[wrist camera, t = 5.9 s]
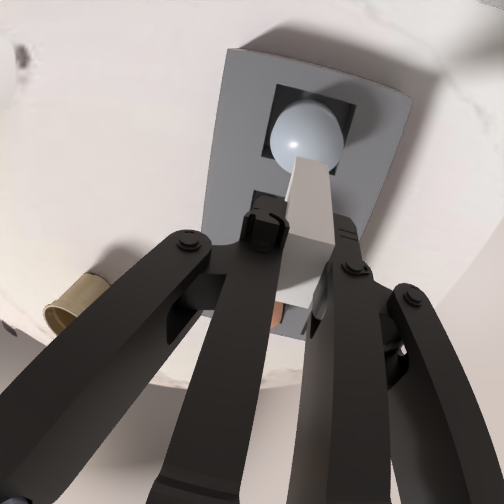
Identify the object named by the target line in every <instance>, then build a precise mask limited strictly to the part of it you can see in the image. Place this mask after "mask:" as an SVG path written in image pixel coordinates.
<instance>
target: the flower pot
mask: <svg viewBox="0 0 504 504" xmlns="http://www.w3.org/2000/svg"><path fill="white" fill-rule="evenodd" d="M109 287H110V285H109V284H108V283H107V282H106V281H105V280H104V279H103V278H101V277H100V276H98V275H91V274H90V273H86V274H84V275H82V276H81V277H80V278H79V279H78V280H77V281H76V282H75V283H74V284H73V285H72V286H71V287H70V288H69V289H68V290H67V291H66V292H65V293H64V294H63V295H62V296H61V297H60V298H59V299H58V300H55V301H54V302H53V303H52V304H48V305H47V306H45V308H44V309H43V317H44V320H45V322H46V324H47V325H48V327H49V328H50V329H51V331H52V332H53V333H54V334H55V335H56V336H58V335H59V334H60V333H61V332H62V331H63V330H64V329H65V328H66V327H67V326H68V325H69V324H70V323H71V322H73V321H74V320H75V319H76V318H77V317H78V316H79V315H80V314H81V313H82V312H83V311H84V310H85V309H86V308H87V307H88V306H90V305H91V304H92V303H93V302H94V301H95V300H96V299H97V298H98V297H99V296H100V295H101V294H103V293H104V292H105V291H106V290H107V289H108V288H109Z"/></svg>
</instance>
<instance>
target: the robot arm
mask: <svg viewBox="0 0 504 504" xmlns="http://www.w3.org/2000/svg"><path fill="white" fill-rule="evenodd" d="M358 241H359V239H358V235H357V228H356V225H355V224H354V222H353V221H352V220H351V218H349V217H346V216H342V215H339V214H335V213H333V211H332V200H331V189H330V180H329V170H328V164H325V163H321V162H317V161H314V160H310V159H306V158H303V157H299V156H296V160H295V164H294V167H293V171H292V175H291V179H290V182H289V186H288V190H287V194H286V197H285V201H283V200H279V199H275V198H271V197H267V196H261V197H260V198H258V199H257V200H255V203H254V206H253V209H252V211H249V212H247V213H246V214H245V215H244V218H243V223H242V228H241V233H240V238H239V241H237V242H235V243H233V244H229V245H212V242H211V240H210V239H209V237H208V236H207V235H205V234H203V233H202V232H199V231H195V230H179V231H176V232H174V233H172V234H170V235H169V236H168V237H166V238H165V239H164V240H163V241H162V242H161V243H159V244H158V245H157V246H156V247H155V248H154V249H152V250H151V251H150V252H149V253H148V254H147V255H145V256H144V257H143V258H142V259H141V260H140V261H138V262H137V263H136V264H135V265H134V266H133V267H132V268H130V269H129V270H128V271H127V272H126V273H125V274H124V275H123V276H121V277H120V278H119V279H118V280H117V281H116V282H115V283H114V284H112V285H111V286H110V287H109V288H108V289H107V290H106V291H105V292H104V293H103V294H101V295H100V296H99V297H98V298H97V299H96V300H95V301H94V302H93V303H92V304H91V305H90V306H88V307H87V308H86V309H85V310H84V311H83V312H82V313H81V314H80V315H79V316H78V317H77V318H76V319H75V320H74V321H73V322H71V323H70V324H69V325H68V326H67V327H66V328H65V329H64V330H63V331H62V332H61V333H60V334H59V335H58V336H57V337H56V338H55V339H54V340H53V341H52V342H51V343H50V344H49V345H48V346H47V347H46V348H45V349H44V350H43V351H42V352H41V353H40V354H39V355H38V356H37V357H36V358H35V359H34V360H33V361H32V362H31V363H30V364H29V365H28V366H27V367H26V368H25V369H24V370H23V371H22V372H21V373H20V374H19V375H18V376H17V377H16V379H15V380H14V381H13V382H12V383H11V384H10V385H9V386H8V387H7V388H6V389H5V390H4V391H3V392H2V393H1V395H0V504H52V503H54V502H55V501H56V500H57V499H58V498H59V497H60V495H62V493H63V492H64V491H65V490H66V489H67V488H68V487H69V485H70V484H71V483H72V481H73V480H74V479H75V478H76V476H77V475H78V474H79V472H80V471H81V470H82V469H83V467H84V466H85V465H86V463H87V462H88V461H89V459H90V458H91V457H92V456H93V454H94V453H95V452H96V450H97V449H98V448H99V446H100V445H101V444H102V443H103V441H104V440H105V439H106V437H107V436H108V435H109V434H110V432H111V431H112V429H113V428H114V427H115V426H116V424H117V423H118V422H119V421H120V419H121V418H122V417H123V415H124V414H125V413H126V412H127V410H128V409H129V408H130V406H131V405H132V404H133V402H134V401H135V400H136V399H137V397H138V396H139V395H140V393H141V392H142V391H143V389H144V388H145V387H146V386H147V384H148V383H149V382H150V380H151V379H152V378H153V377H154V375H155V374H156V373H157V371H158V370H159V369H160V368H161V366H162V365H163V364H164V362H165V361H166V360H167V359H168V357H169V356H170V355H171V353H172V352H173V351H174V349H175V348H176V347H177V346H178V344H179V343H180V342H181V340H182V339H183V338H184V337H185V335H186V334H187V333H188V331H189V330H190V329H191V328H192V326H193V325H194V324H195V322H196V321H197V320H198V318H199V317H200V316H201V315H202V313H203V310H214V313H213V316H212V319H211V322H210V325H209V328H208V331H207V334H206V336H205V339H204V342H203V345H202V348H201V351H200V354H199V357H198V360H197V363H196V366H195V369H194V372H193V375H192V378H191V381H190V384H189V387H188V390H187V393H186V396H185V399H184V402H183V405H182V408H181V411H180V414H179V417H178V420H177V423H176V426H175V429H174V432H173V435H172V438H171V441H170V444H169V448H168V450H167V454H166V457H165V460H164V463H163V466H162V469H161V471H160V473H159V475H158V477H157V478H156V480H155V481H154V483H153V486H152V488H151V490H150V493H149V495H148V498H147V501H146V504H240V503H239V491H240V485H241V480H242V476H243V470H244V466H245V461H246V456H247V451H248V446H249V441H250V436H251V431H252V426H253V421H254V415H255V410H256V405H257V400H258V394H259V389H260V384H261V378H262V373H263V367H264V362H265V356H266V351H267V345H268V339H269V333H270V328H271V322H272V316H273V310H274V304H275V301H278V302H282V303H286V304H290V305H294V306H299V307H303V308H307V309H308V308H309V305H310V303H311V301H312V299H313V303H312V310H311V312H310V314H309V316H308V318H307V321H306V323H305V325H304V327H303V329H302V332H301V335H304V333H305V331H306V342H305V354H304V365H303V376H302V386H301V396H300V405H299V414H298V423H297V431H296V439H295V447H294V455H293V462H292V469H291V476H290V483H289V489H288V496H287V502H286V504H392V503H391V498H390V486H391V485H390V484H391V483H390V482H391V481H390V480H391V461H392V465H393V469H394V473H395V477H396V482H397V486H398V491H399V495H400V500H401V504H504V479H503V475H502V472H501V469H500V465H499V462H498V459H497V455H496V452H495V449H494V447H493V443H492V440H491V437H490V435H489V432H488V429H487V426H486V424H485V421H484V418H483V416H482V413H481V411H480V408H479V405H478V403H477V400H476V398H475V395H474V393H473V390H472V388H471V386H470V383H469V381H468V379H467V376H466V374H465V372H464V370H463V367H462V365H461V363H460V361H459V359H458V356H457V355H456V352H455V350H454V348H453V346H452V344H451V342H450V340H449V338H448V336H447V334H446V332H445V330H444V328H443V326H442V324H441V322H440V320H439V318H438V316H437V314H436V312H435V310H434V308H433V306H432V305H431V303H430V301H429V299H428V298H427V296H426V295H425V293H424V292H422V291H421V290H420V289H419V288H418V287H415V286H414V285H411V284H407V283H401V284H398V285H397V286H396V287H395V288H394V290H393V291H392V290H390V289H388V288H386V287H384V286H382V285H380V284H379V283H377V282H375V281H374V279H373V273H372V271H371V269H370V267H369V266H368V265H367V264H366V263H365V262H364V261H362V257H361V251H360V245H359V242H358ZM403 344H404V346H405V349H406V351H407V353H406V354H405V355H404V354H403V353H402V351H401V347H402V346H403ZM390 460H391V461H390Z"/></svg>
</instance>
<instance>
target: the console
mask: <svg viewBox="0 0 504 504" xmlns="http://www.w3.org/2000/svg"><path fill="white" fill-rule="evenodd" d="M301 99H312V100H316V101H319V102H321V103H323V104H325V105H326V106H328V107H329V108H330V109H331V110H332V111H333V113H334V114H335V116H336V118H337V121H338V124H339V127H340V130H341V133H342V136H343V141H344V147H343V153H342V156H341V158H340V160H339V162H338V163H337V164H336V166H335V167H334V168H333V169H331V170H330V171H329V180H330V189H331V200H332V211H333V213H335V214H339V215H342V216H346V217H349V218H351V220H352V221H353V222H354V224H355V225H356V228H357V235H358V239H359V241H360V239H361V236H362V234H363V232H364V230H365V227H366V225H367V223H368V220H369V218H370V215H371V213H372V211H373V208H374V206H375V203H376V201H377V199H378V196H379V194H380V191H381V189H382V186H383V184H384V181H385V178H386V176H387V173H388V171H389V168H390V165H391V163H392V160H393V157H394V155H395V152H396V149H397V146H398V144H399V141H400V138H401V135H402V132H403V130H404V127H405V124H406V121H407V118H408V115H409V112H410V109H411V106H412V103H413V100H414V99H413V98H411V97H409V96H408V95H406V94H404V93H402V92H401V91H398V90H395V89H393V88H390V87H387V86H385V85H382V84H379V83H376V82H373V81H370V80H368V79H365V78H362V77H358V76H355V75H352V74H349V73H346V72H342V71H339V70H335V69H332V68H328V67H325V66H321V65H317V64H313V63H310V62H305V61H301V60H297V59H293V58H288V57H284V56H279V55H274V54H269V53H264V52H258V51H253V50H247V49H241V48H233V49H227V54H226V60H225V65H224V71H223V77H222V83H221V89H220V95H219V101H218V108H217V114H216V120H215V127H214V134H213V141H212V148H211V155H210V162H209V170H208V177H207V185H206V193H205V201H204V210H203V219H202V227H201V232H202V233H203V234H205V235H207V236H208V237H209V239H210V240H211V242H212V245H229V244H233V243H235V242H237V241H239V238H240V233H241V228H242V223H243V218H244V215H245V214H246V213H247V212H249V211H252V209H253V206H254V203H255V200H257V199H258V198H260V197H261V196H267V197H271V198H275V199H279V200H283V201H285V197H286V194H287V190H288V186H289V182H290V179H291V175H292V174H291V173H289V172H287V171H286V170H284V169H283V168H282V167H281V166H280V165H279V164H278V163H277V161H276V160H275V158H274V156H273V154H272V151H271V146H270V138H271V133H272V130H273V128H274V126H275V123H276V121H277V119H278V117H279V115H280V113H281V111H282V110H283V109H284V108H285V107H286V106H287V105H289V104H290V103H292V102H294V101H297V100H301ZM359 241H358V242H359ZM312 303H313V299H312V301H311V303H310V305H309V308H308V309H307V308H303V307H299V306H294V305H290V304H286V303H284V304H283V311H282V318H281V321H280V323H279V324H278V325H277V326H275V327H274V328H271V329H270V333H273V334H277V335H281V336H286V337H290V338H294V339H299V340H304V341H306V331H305V333H304V335H301V332H302V329H303V327H304V325H305V323H306V321H307V318H308V316H309V314H310V312H311V310H312ZM213 313H214V310H203V313H202V316H206V317H209V318H212V316H213Z"/></svg>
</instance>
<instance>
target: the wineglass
mask: <svg viewBox="0 0 504 504" xmlns="http://www.w3.org/2000/svg"><path fill="white" fill-rule="evenodd" d="M478 1H479V2H480V3H483V4H486V5H490V6H494V7H497V8H500V9H503V10H504V0H478Z"/></svg>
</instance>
